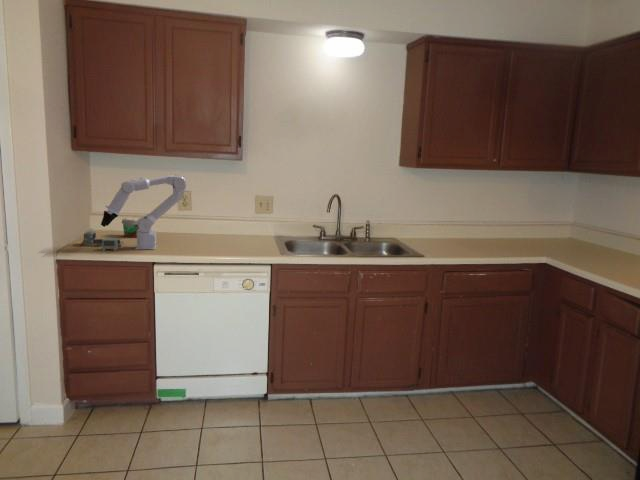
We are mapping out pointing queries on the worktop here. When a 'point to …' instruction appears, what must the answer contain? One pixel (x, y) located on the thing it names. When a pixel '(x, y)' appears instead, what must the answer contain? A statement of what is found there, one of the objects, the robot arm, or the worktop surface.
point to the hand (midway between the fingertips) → (104, 225)
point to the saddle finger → (109, 243)
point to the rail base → (95, 240)
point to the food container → (130, 228)
